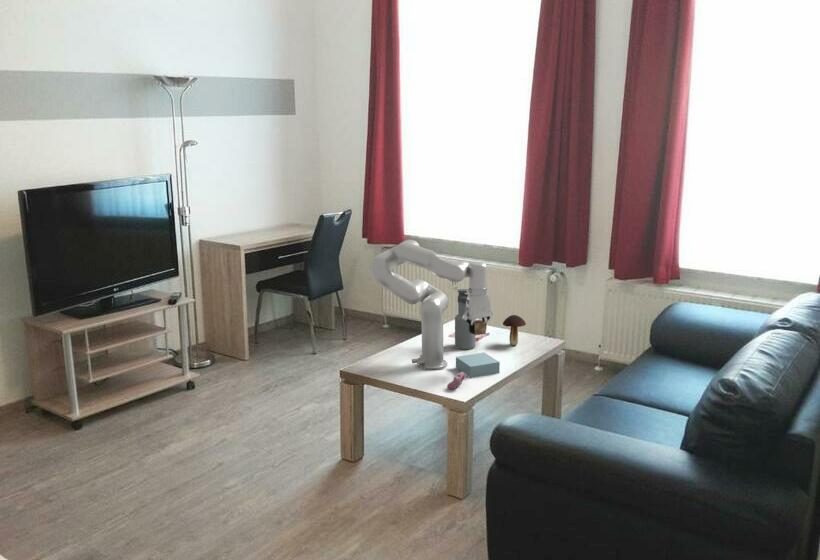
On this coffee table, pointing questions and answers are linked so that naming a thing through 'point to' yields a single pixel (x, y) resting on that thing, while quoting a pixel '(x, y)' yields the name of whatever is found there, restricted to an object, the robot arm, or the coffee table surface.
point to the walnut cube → (479, 327)
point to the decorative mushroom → (514, 327)
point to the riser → (477, 365)
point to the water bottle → (463, 324)
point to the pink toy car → (456, 380)
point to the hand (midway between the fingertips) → (477, 331)
